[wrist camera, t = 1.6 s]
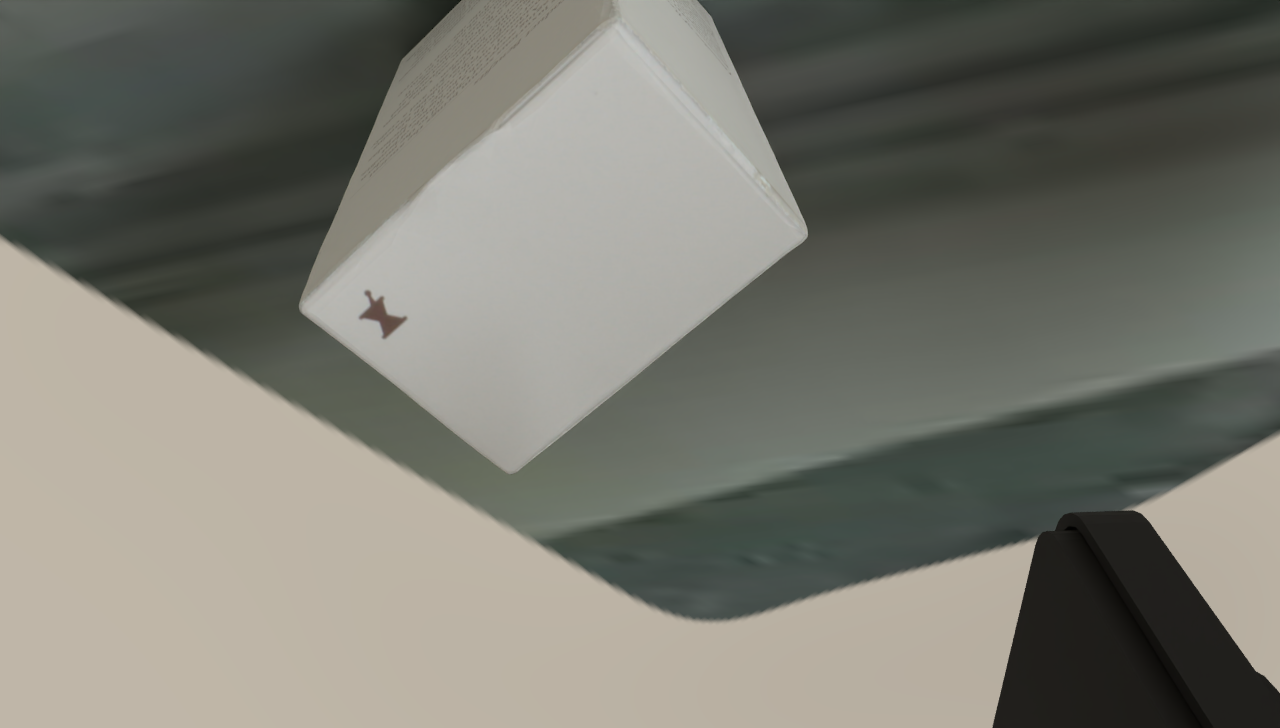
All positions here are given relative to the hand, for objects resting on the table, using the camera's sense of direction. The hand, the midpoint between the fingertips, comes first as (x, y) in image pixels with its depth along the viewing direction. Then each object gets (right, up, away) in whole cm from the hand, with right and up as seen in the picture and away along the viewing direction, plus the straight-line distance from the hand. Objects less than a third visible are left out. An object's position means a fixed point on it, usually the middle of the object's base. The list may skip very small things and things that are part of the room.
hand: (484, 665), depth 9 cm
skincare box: (0, +10, +16) cm, 19 cm away
